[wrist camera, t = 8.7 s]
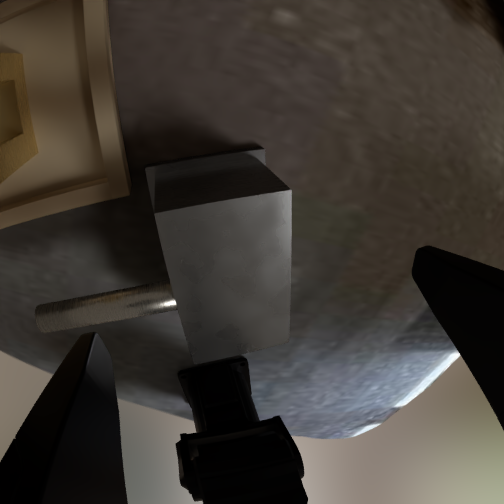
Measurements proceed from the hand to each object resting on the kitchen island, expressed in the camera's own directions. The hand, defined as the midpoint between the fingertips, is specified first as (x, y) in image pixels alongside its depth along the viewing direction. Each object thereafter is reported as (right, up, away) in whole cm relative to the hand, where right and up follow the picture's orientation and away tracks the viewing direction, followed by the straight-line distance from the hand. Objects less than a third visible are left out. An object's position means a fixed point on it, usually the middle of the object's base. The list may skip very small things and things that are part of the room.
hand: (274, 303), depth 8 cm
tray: (-14, +9, +5) cm, 18 cm away
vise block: (-7, +2, +12) cm, 14 cm away
